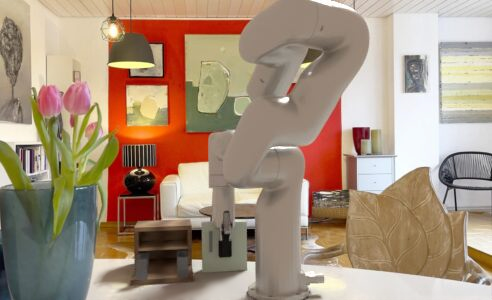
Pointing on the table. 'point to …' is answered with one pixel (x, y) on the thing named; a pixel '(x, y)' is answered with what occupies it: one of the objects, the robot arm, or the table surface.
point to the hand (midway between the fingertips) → (224, 254)
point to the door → (211, 248)
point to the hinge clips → (143, 265)
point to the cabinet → (163, 249)
